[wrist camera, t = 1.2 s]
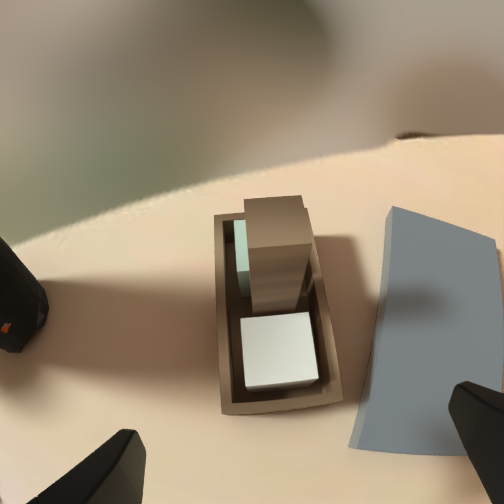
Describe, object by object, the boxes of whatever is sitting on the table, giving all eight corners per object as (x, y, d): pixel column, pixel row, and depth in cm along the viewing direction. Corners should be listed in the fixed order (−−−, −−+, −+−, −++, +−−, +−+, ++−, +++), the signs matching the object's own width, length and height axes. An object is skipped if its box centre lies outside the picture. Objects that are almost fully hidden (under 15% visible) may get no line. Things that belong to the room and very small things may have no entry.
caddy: (329, 404, 19) (400, 379, 9) (229, 415, 19) (191, 407, 9) (301, 237, 26) (320, 120, 16) (220, 244, 26) (197, 128, 16)
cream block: (308, 386, 19) (318, 378, 16) (248, 392, 19) (245, 386, 16) (300, 331, 21) (308, 311, 18) (243, 337, 21) (240, 318, 18)
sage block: (294, 292, 23) (300, 266, 19) (240, 297, 23) (236, 271, 19) (287, 246, 25) (291, 215, 21) (237, 250, 25) (233, 220, 21)
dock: (485, 250, 25) (494, 239, 23) (477, 454, 15) (491, 454, 13) (385, 219, 27) (392, 205, 25) (348, 446, 17) (356, 448, 15)
